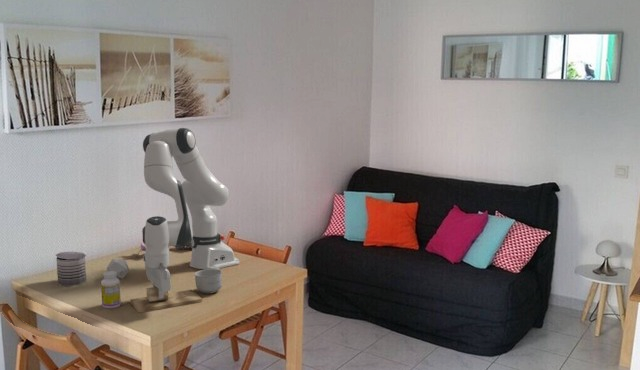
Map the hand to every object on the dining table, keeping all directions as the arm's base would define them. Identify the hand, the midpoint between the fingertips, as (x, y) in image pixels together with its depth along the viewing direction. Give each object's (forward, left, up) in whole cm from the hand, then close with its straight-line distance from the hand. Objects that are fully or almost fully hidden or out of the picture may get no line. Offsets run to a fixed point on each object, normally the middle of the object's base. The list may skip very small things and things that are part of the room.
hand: (158, 295), depth 239 cm
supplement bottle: (+16, -6, -3) cm, 18 cm away
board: (-3, 0, -3) cm, 4 cm away
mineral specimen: (-34, -68, -3) cm, 76 cm away
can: (+24, -42, -3) cm, 49 cm away
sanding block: (+1, 0, -1) cm, 1 cm away
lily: (-12, -66, -3) cm, 67 cm away
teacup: (-23, -5, -3) cm, 24 cm away
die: (+6, -39, -3) cm, 40 cm away
